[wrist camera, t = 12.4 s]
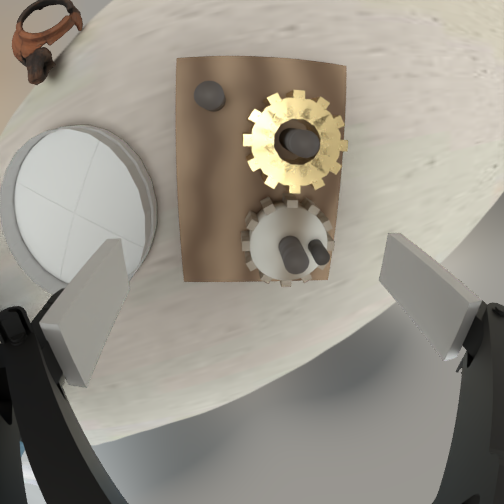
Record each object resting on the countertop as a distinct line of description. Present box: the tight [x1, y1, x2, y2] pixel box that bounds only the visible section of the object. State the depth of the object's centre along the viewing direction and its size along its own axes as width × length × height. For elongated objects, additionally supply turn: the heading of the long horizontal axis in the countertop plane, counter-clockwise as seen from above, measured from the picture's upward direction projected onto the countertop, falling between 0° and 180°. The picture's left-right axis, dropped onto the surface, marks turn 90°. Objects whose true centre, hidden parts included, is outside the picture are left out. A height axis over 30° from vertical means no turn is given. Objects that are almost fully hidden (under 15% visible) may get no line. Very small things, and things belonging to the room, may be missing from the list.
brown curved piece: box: [12, 0, 83, 85], centre depth 21 cm, size 12×10×8 cm
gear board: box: [176, 56, 346, 287], centre depth 29 cm, size 18×26×9 cm
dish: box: [0, 125, 157, 294], centre depth 31 cm, size 22×22×5 cm
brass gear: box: [242, 90, 348, 194], centre depth 28 cm, size 10×10×4 cm
